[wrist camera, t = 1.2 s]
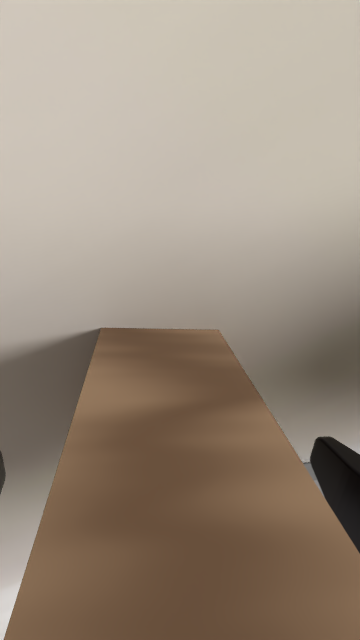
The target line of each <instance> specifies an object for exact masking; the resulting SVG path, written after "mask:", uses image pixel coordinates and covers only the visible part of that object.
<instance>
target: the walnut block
mask: <svg viewBox="0 0 360 640" xmlns="http://www.w3.org/2000/svg"><path fill="white" fill-rule="evenodd" d="M4 640H360V553H359V552H358V550H357V549H356V547H355V545H354V544H353V542H352V541H351V539H350V537H349V536H348V534H347V533H346V531H345V530H344V528H343V526H342V525H341V523H340V522H339V520H338V518H337V517H336V515H335V514H334V512H333V511H332V509H331V507H330V506H329V504H328V503H327V501H326V499H325V498H324V496H323V495H322V493H321V491H320V490H319V488H318V487H317V485H316V484H315V482H314V480H313V479H312V477H311V476H310V474H309V472H308V471H307V469H306V468H305V466H304V465H303V463H302V461H301V460H300V458H299V457H298V455H297V453H296V452H295V450H294V449H293V447H292V445H291V444H290V442H289V441H288V439H287V438H286V436H285V434H284V433H283V431H282V430H281V428H280V426H279V425H278V423H277V422H276V420H275V419H274V417H273V415H272V414H271V412H270V411H269V409H268V407H267V406H266V404H265V403H264V401H263V399H262V398H261V396H260V395H259V393H258V392H257V390H256V388H255V387H254V385H253V384H252V382H251V380H250V379H249V377H248V376H247V374H246V373H245V371H244V369H243V368H242V366H241V365H240V363H239V361H238V360H237V358H236V357H235V355H234V353H233V352H232V350H231V349H230V347H229V346H228V344H227V342H226V341H225V339H224V338H223V336H222V334H221V333H220V331H219V330H194V329H137V328H101V330H100V333H99V336H98V339H97V342H96V346H95V349H94V352H93V355H92V358H91V362H90V365H89V368H88V371H87V374H86V378H85V381H84V384H83V387H82V390H81V394H80V397H79V400H78V403H77V406H76V410H75V413H74V416H73V419H72V422H71V426H70V429H69V432H68V435H67V438H66V442H65V445H64V448H63V451H62V454H61V458H60V461H59V464H58V467H57V470H56V474H55V477H54V480H53V483H52V486H51V490H50V493H49V496H48V499H47V503H46V506H45V509H44V512H43V515H42V519H41V522H40V525H39V528H38V531H37V535H36V538H35V541H34V544H33V547H32V551H31V554H30V557H29V560H28V563H27V567H26V570H25V573H24V576H23V579H22V583H21V586H20V589H19V592H18V595H17V599H16V602H15V605H14V608H13V611H12V615H11V618H10V621H9V624H8V627H7V631H6V634H5V637H4Z"/></svg>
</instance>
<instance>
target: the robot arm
mask: <svg viewBox="0 0 360 640" xmlns="http://www.w3.org/2000/svg"><path fill="white" fill-rule="evenodd" d="M310 462H311V466H312V469H313V471H314V473H315V476H316V478H317V481H318V483H319V485H320V488H321V490H322V493H323V495H324V497H325V499H326V501H327V503H328V504H329V506H330V507H331V509H332V511H333V512H334V514H335V515H336V517H337V518H338V520H339V522H340V523H341V525H342V526H343V528H344V530H345V531H346V533H347V534H348V536H349V537H350V539H351V541H352V542H353V544H354V545H355V547H356V549H357V550H358V552H359V553H360V454H358V453H356V452H355V451H353V450H352V449H350V448H348V447H347V446H345V445H343V444H342V443H340V442H339V441H337V440H335V439H334V438H332V437H318V438H317V439H316V440H315V443H314V446H313V449H312V453H311V456H310ZM4 481H5V468H4V462H3V457H2V453H1V451H0V494H1V491H2V488H3V484H4Z"/></svg>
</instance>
